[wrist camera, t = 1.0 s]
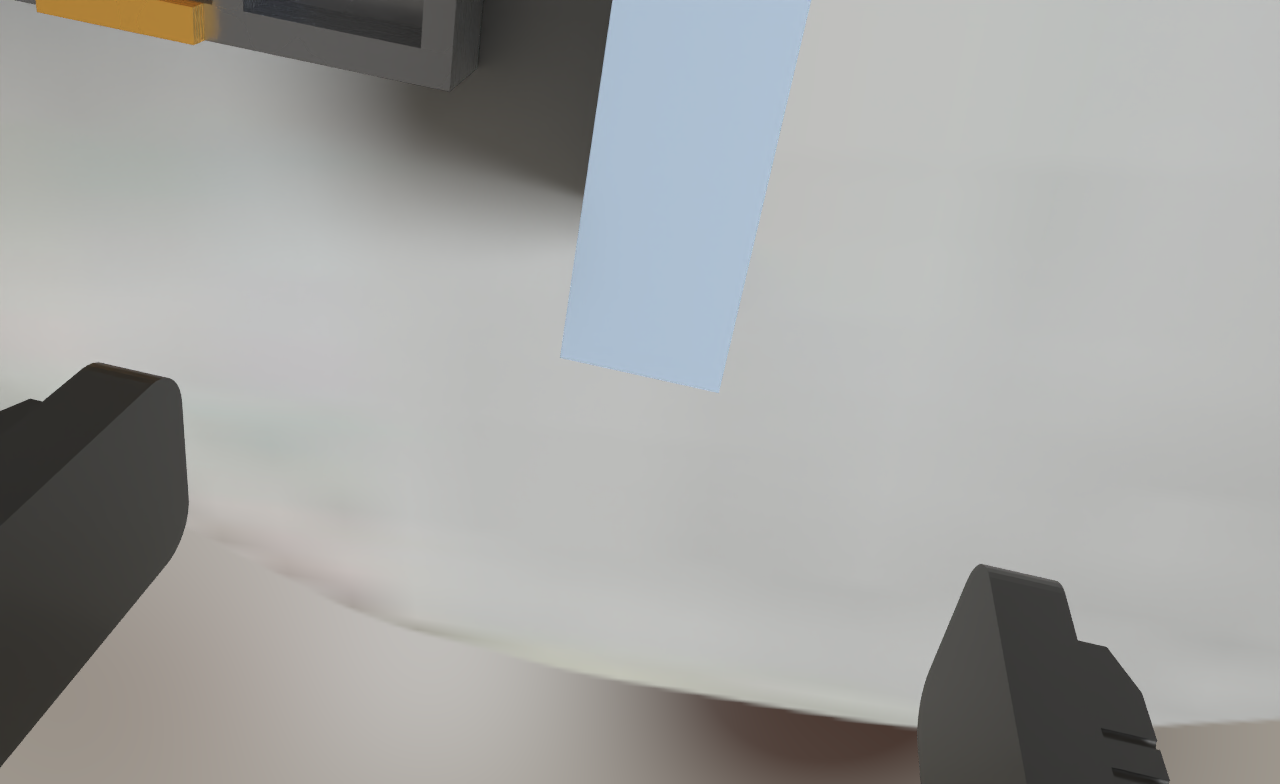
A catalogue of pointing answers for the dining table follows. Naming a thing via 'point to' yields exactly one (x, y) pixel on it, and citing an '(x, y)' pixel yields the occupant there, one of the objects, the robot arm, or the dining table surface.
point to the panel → (678, 182)
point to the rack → (311, 31)
